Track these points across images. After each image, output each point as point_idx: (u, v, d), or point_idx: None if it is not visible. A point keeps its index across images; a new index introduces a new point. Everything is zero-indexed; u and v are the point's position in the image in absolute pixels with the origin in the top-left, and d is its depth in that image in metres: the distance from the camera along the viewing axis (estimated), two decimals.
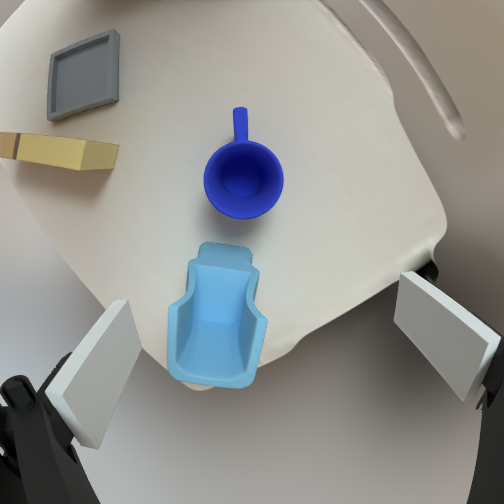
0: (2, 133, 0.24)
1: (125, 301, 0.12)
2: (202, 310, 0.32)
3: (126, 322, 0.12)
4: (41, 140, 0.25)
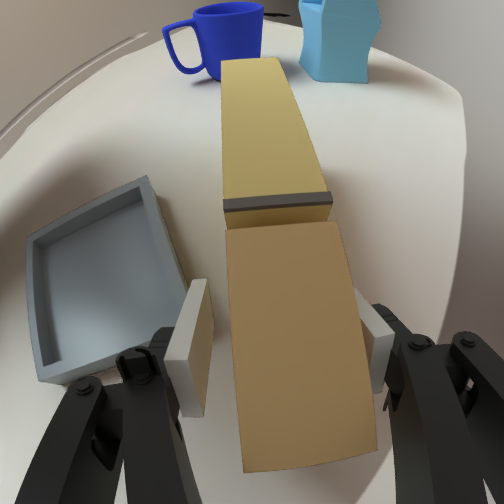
0: (238, 343, 0.07)
1: (205, 279, 0.14)
2: None
3: (207, 299, 0.13)
4: (237, 121, 0.11)
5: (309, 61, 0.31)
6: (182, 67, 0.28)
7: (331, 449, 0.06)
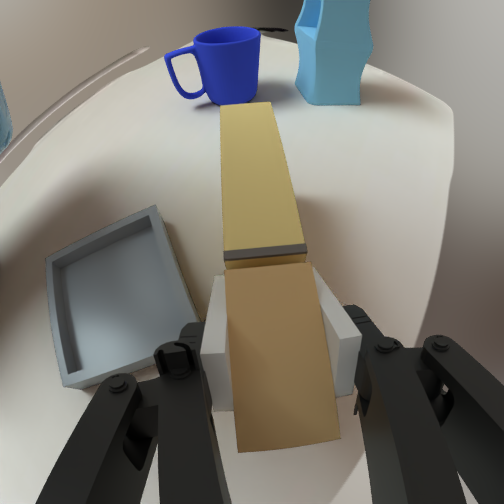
0: (234, 355, 0.10)
1: None
2: None
3: None
4: (234, 176, 0.14)
5: (304, 84, 0.34)
6: (184, 92, 0.32)
7: (303, 435, 0.08)
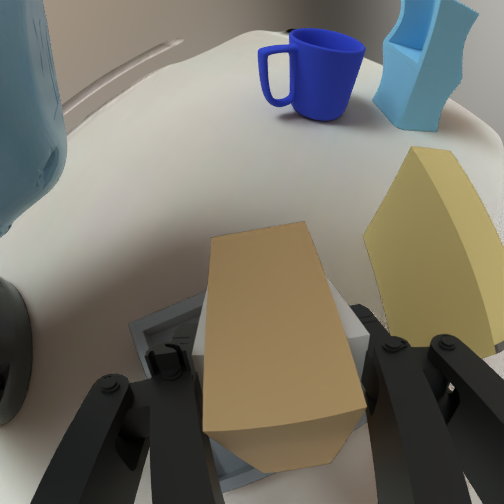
0: (211, 308, 0.08)
1: None
2: None
3: None
4: (475, 253, 0.10)
5: (390, 105, 0.30)
6: (272, 98, 0.27)
7: (306, 405, 0.05)
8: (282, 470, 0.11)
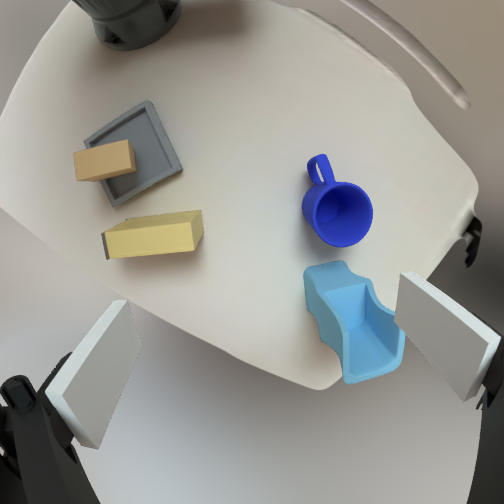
0: (100, 146, 0.28)
1: (125, 301, 0.12)
2: None
3: (126, 322, 0.12)
4: (135, 234, 0.33)
5: (323, 269, 0.45)
6: (309, 166, 0.39)
7: (78, 170, 0.28)
8: None
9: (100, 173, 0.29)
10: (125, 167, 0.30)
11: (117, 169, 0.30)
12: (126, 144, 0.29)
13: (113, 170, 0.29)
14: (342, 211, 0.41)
